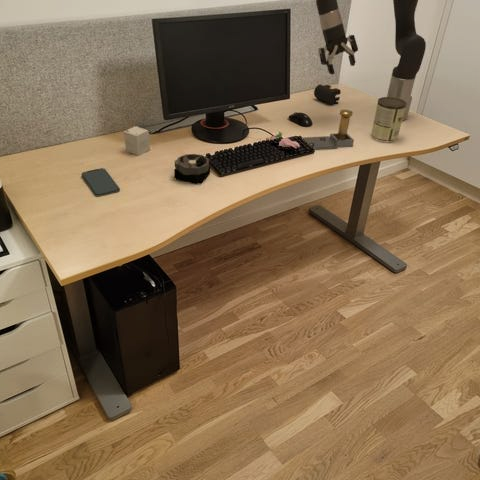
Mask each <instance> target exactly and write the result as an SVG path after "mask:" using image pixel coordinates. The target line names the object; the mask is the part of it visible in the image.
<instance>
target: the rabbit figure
mask: <svg viewBox="0 0 480 480" xmlns="http://www.w3.org/2000/svg"><path fill="white" fill-rule="evenodd" d="M282 136H283V133H282V132H281V131H278V133H277V134H275V135H271V136H270V137H265V141H266V140H267V141H268V140H274V139H277V138H278V139H279V138H281V137H282ZM280 140H281V141H280V142H279V145H278V147H279V146H282V147H289V148H290V147H292V148H294V149H297V148H300V145H301V144H300V143H298V142H297V141H294V140H291V139H290V138H287V137H284V138H283V139H282V138H281V139H280Z"/></svg>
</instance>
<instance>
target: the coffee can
mask: <svg viewBox="0 0 480 480" xmlns="http://www.w3.org/2000/svg"><path fill="white" fill-rule="evenodd" d="M406 104H407V103H406V102H405V101H404V100H402V99H398V98H394V97H387V96H384V97H380V98H378V99H377V104H376V110H375V114H374V117H373V118H374V120H373V124H372V129H371V134H370V137H371V139H372V140H375V141H377V142H380V143H387V144H388V143H390V144H391V143H396V142H397V141H398V139H399V135H400V131H401V126H402V123H403V121H402V119H403V115H404V111H405V107H406Z"/></svg>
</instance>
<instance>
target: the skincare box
mask: <svg viewBox="0 0 480 480" xmlns="http://www.w3.org/2000/svg"><path fill="white" fill-rule="evenodd" d="M149 132H150V131H149V130H148V129H146V128H143V127H139V126H137V125H136V126H132V127H131V128H128V129H126V130H124V131H123V135H124V136H123V138H124V145H125V152H127V153H130V154H133V155H135V156H141V155H143V154H145V153H147V152H149V151H151V144H150V134H149Z"/></svg>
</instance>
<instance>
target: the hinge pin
mask: <svg viewBox="0 0 480 480" xmlns="http://www.w3.org/2000/svg"><path fill="white" fill-rule="evenodd" d="M339 116H340V121H339V125H338V126H339V127H338V132H337V133H338V136H337V139H338V140H345V139H346V136H347V134H348V130H349V124H350V120H351V119H350V118H351V117H352V116H353V111H352V110H350V109H340V111H339Z"/></svg>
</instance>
